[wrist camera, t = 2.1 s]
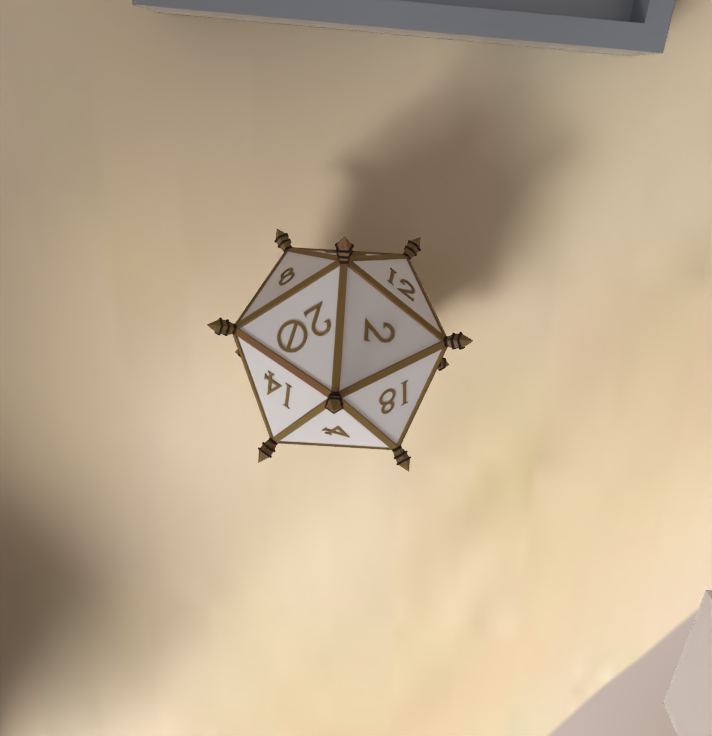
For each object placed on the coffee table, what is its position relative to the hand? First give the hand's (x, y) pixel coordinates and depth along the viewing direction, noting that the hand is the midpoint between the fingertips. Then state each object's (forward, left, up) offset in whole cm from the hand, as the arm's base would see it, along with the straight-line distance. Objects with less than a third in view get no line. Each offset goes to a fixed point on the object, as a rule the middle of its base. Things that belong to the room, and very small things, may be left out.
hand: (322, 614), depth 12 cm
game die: (0, 0, -18) cm, 18 cm away
